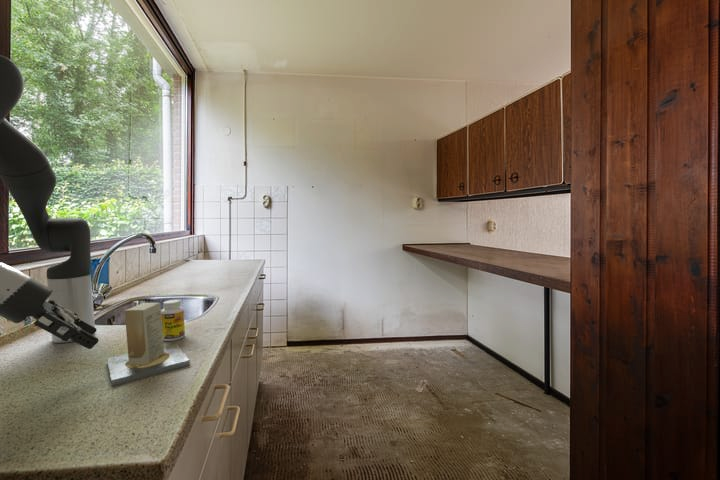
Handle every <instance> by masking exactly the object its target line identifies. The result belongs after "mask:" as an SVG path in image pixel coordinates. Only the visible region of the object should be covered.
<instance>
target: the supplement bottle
mask: <svg viewBox="0 0 720 480" xmlns="http://www.w3.org/2000/svg"><path fill="white" fill-rule="evenodd" d="M162 307H163V308H161V315H162V329H163V342H164V341H165V342H173V341H174V342H175V341H178V340H181V339H183V338H184V337H185V335H186V334H185V333H186V331H185V314H184V313H185V310H184V307H183V306H181V301H180V300H179V299H169V300H165V301H163V306H162Z"/></svg>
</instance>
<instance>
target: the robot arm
mask: <svg viewBox="0 0 720 480" xmlns="http://www.w3.org/2000/svg"><path fill="white" fill-rule="evenodd" d="M24 89H25V79H24V77H23V74H22V71H21V69H20V67H18V65H17V64H16V63H15V62H14V61H13V60H11V59H10V58H9V57H7V56H5V55H1V54H0V181H1V182H2V183H3V184H4V186H5V187H6V188H7V190H8V192H9V193H10V195H11V196H12V198H13V199H14V201H15V203H16V205H17V207H18V208H19V210H20V213H22V216H23V218H24V220H25V223H26V225H27V226H28V229H29V231H30V233H31V236H32V237H33V240H34V241H35V243H36V245H37V247H38V248H39V249H40V250H41V251H44V252H46V253H70V256H69V258H68V259H67V260H65V261H63V262H61V263H58V264H55V265H53V266H52V265H51V266H49V267H48V268H47V269H46V283H47V286H46V285H45V284H44V283H41V282H40V281H38V280H36V279H35V278H33V277H31V276H30V275H28V274H26V273H24V272H22V271H21V270H19V269H17V268H16V267H14V266H11V265H8V264H7V263H4V262H1V261H0V317H2V318H4V319H6V320H8V321H10V322H12V323H13V324H20V323H22V322H24V321H25V320H26V319H27V318H29V317H32V318H33V319H35V321H34V322H33V325H34V326H35V327H37V328H40V329H42V330H44V331H46V332H48V333H50V334H51V340H52V343H55V344H63V343H64V344H65V343H70V342H72V343H73V342H75V343H76V344H78V345H80V346H82V347H84V348H86V349H88V350H91V349H93V348H94V347H95V346H96V345H97V344H98V343H99V340H100V339H99V338H98V337H96V336H94V335H95V334H96V332H97V331H98V330H97V327H96V326H95V323H96V322H95V313H94V311H95V310H94V309H95V308H94V299H93V285H92V273H91V268H92V267H91V266H92V265H91V264H92V259H91V258H92V257H91V230H90V226H89V223H88V221H87V220H86V219H84V218H81V217H80V218H79V217H76V218H75V217H74V218H73V217H69V218H68V217H64V218H63V217H60V218H58V217H57V218H53V217H51V216H50V215H49V213H48V210H47V205H48V202H49V200H50V199H51V197H52V194H53V193H54V190H55V187H56V184H57V178H56V177H57V176H56V174H55V172H54V171H55V170H54V169H53V168H52V165H51V163H50V161H49V159H48V157H47V155H46V154H45V152H44V151H43V150H42V149H41V147H39V146H38V145H37V144H36V143H35V142H34V141H32V140H31V139H30V138H29V137H28V136H26V135H25V134H24V133H22V132H21V131H20V130H19V129H18V128H16V127H15V126H14V125H13V124H11V122H9V121H8V120H7V116H8V115H9V114H10V112H11V111H13V109H14V108H15V106H16V105H17V104H18V103H19V102H20V100H21V98H22V96H23V93H24ZM47 300H48V301H47Z"/></svg>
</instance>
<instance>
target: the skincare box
mask: <svg viewBox="0 0 720 480" xmlns="http://www.w3.org/2000/svg"><path fill="white" fill-rule="evenodd" d="M161 310H162V303H161V302H142V303H140V304H137V305H135V306H134V305H133V306H132V307H129V308H127V309H124V320H125V329H126V331H125V332H126V343H127V354H128V358H129V365H148V364H149V363H151V362H152V361H154V360H155V359H157V358H158V357H159V356H161V355H162V354H163V353H164V345H165V343H164V340H163V329H162V315H161Z"/></svg>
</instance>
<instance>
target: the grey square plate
mask: <svg viewBox="0 0 720 480" xmlns="http://www.w3.org/2000/svg"><path fill="white" fill-rule="evenodd" d="M106 361H107V367H108V373H109V377H110V385H111V386H112V387H114V386H119V385H122V384H126V383H130V382H132V381H137V380H141V379H144V378H148V377H151V376H155V375H160V374H164V373H166V372H170V371H174V370H179V369H181V368H184V367H185V368H186V367H188V366H191V362H190V361H191V360H190V359H189V358H188V356H187V355H186V354H185V353H184V351H183V350H182V348H181V347H180V346H179V344H178V343H176V342H174V343H173V342H172V343H168V344H164V353H163V354H162V355H161V356H159V357H158V358H157V359H155V360H154V361H152V362H151V363H149V364H148V365H129V358H128V353H124V354H120V355H116V356H111V357H107V358H106Z"/></svg>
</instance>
